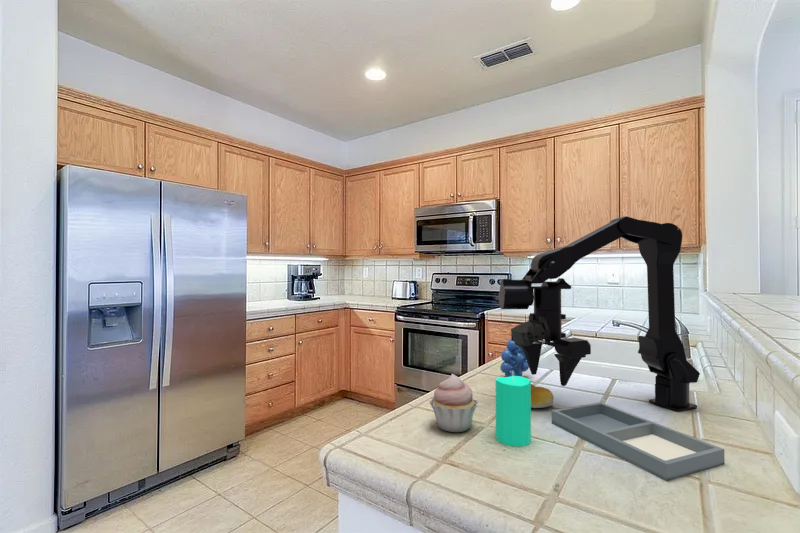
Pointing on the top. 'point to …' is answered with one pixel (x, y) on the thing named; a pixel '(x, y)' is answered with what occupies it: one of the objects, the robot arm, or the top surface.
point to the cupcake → (453, 405)
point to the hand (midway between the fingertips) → (547, 379)
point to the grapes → (513, 360)
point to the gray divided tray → (639, 440)
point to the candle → (513, 410)
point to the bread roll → (541, 397)
